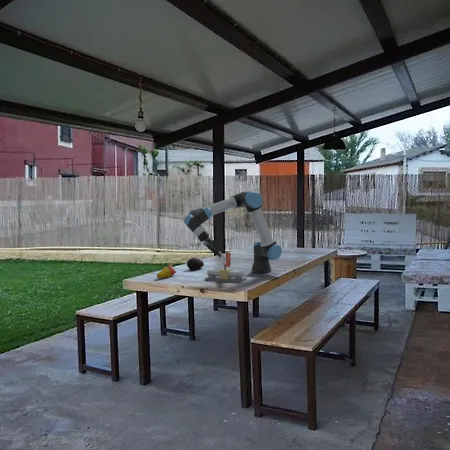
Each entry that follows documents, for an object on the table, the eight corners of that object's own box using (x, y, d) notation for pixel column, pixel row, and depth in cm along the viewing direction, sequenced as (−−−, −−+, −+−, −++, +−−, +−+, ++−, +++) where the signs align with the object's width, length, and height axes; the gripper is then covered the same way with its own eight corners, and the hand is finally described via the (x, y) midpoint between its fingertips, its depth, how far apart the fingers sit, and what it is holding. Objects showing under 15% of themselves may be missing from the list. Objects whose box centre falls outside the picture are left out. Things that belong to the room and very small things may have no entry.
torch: (157, 285, 343) (171, 275, 366) (166, 280, 340) (179, 270, 363) (151, 275, 343) (166, 265, 366) (160, 270, 340) (174, 261, 363)
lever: (222, 264, 337) (222, 250, 337) (227, 264, 338) (226, 250, 337) (226, 267, 322) (226, 253, 322) (231, 267, 323) (230, 252, 322)
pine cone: (205, 268, 397) (205, 255, 396) (197, 271, 380) (196, 258, 380) (193, 267, 400) (193, 255, 400) (184, 270, 384) (184, 258, 383)
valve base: (212, 278, 347) (211, 263, 347) (246, 280, 337) (245, 264, 336) (204, 280, 336) (204, 265, 336) (239, 282, 326) (239, 267, 325)
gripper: (202, 237, 336) (224, 262, 330) (193, 238, 324) (216, 264, 318) (209, 229, 333) (232, 254, 327) (200, 230, 321) (224, 257, 315)
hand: (224, 259), depth 323 cm, fingers closed
